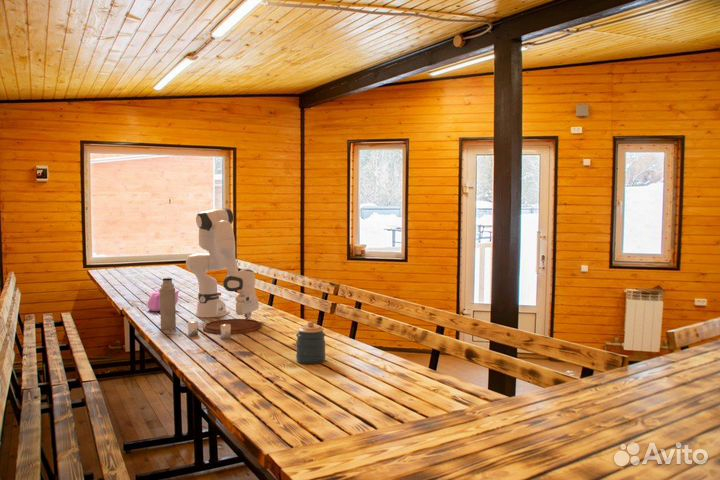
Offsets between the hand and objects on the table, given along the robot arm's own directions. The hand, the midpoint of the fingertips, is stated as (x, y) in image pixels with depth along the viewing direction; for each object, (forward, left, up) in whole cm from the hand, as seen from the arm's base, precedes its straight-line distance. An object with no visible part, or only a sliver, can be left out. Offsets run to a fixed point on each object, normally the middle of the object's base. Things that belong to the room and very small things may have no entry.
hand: (248, 319), depth 328 cm
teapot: (-16, -72, -2) cm, 74 cm away
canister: (+61, +69, -2) cm, 92 cm away
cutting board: (+16, 0, -2) cm, 16 cm away
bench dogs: (+38, 0, -2) cm, 38 cm away
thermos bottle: (+28, -34, -2) cm, 44 cm away
